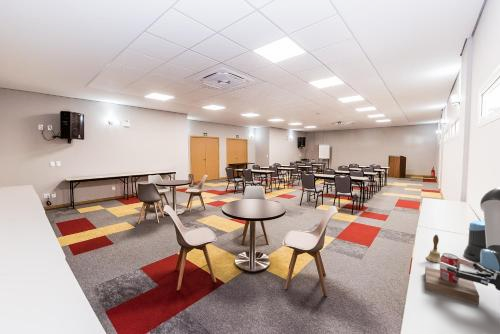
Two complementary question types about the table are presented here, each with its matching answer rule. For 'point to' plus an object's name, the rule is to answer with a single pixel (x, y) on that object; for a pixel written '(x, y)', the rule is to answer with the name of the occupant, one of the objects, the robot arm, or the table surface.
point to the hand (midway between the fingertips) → (448, 261)
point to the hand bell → (434, 251)
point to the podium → (451, 286)
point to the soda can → (452, 261)
